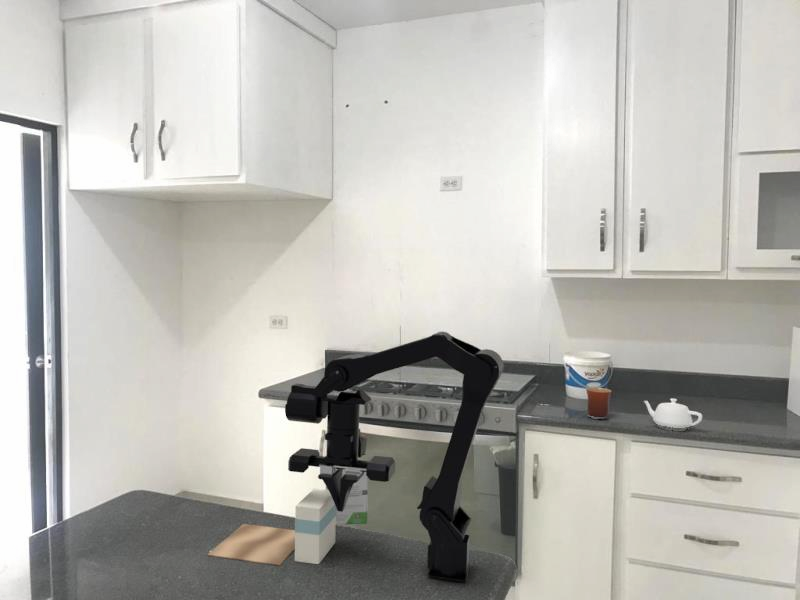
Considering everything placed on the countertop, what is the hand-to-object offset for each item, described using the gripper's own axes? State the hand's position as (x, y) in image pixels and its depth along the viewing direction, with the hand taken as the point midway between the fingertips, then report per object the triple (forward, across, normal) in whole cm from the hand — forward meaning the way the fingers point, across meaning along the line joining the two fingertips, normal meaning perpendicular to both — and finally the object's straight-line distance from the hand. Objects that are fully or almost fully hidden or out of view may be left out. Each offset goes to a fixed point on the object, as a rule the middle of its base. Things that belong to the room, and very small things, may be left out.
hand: (340, 510), depth 114 cm
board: (+8, +16, 0) cm, 18 cm away
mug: (+8, -54, -129) cm, 140 cm away
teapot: (+8, -78, -121) cm, 144 cm away
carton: (+8, +5, 0) cm, 9 cm away
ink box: (+8, +4, -15) cm, 18 cm away
